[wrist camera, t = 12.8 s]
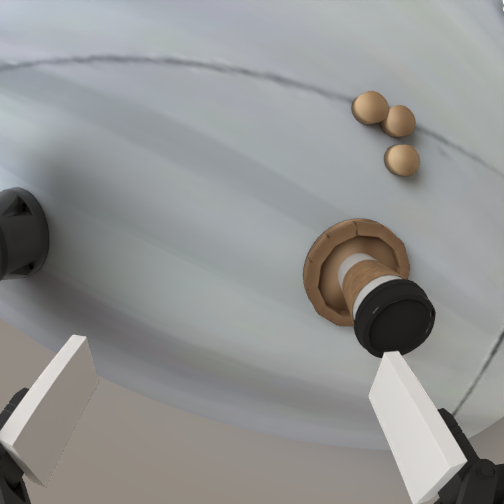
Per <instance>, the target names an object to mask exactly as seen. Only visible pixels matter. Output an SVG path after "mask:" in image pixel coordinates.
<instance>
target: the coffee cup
mask: <svg viewBox="0 0 504 504" xmlns="http://www.w3.org/2000/svg"><path fill="white" fill-rule="evenodd" d="M338 281H339V284H340V287H341V289H342V292H343V295H344V298H345V301H346V304H347V307H348V309H349V312H350V315H351V318H352V321H353V324H354V330H355V335H356V337H357V339H358V341H359V343H360V344H361V345H362V346H363V347H364V348H365V349H367V351H368V352H369V353H370V354H372V355H374V356H376V357H379V358H382V357H383V355H384V352H395V351H399V353H400V354H401V356H402V355H404V354H407V353H409V352H411V351H412V350H414V349H415V348H417V347H418V346H420V345H421V344H422V343H423V342H424V341H425V340H426V339H427V338H428V336H429V334H430V333H431V331H432V328H433V325H434V321H435V314H436V312H435V309H434V307H433V305H432V303H431V302H430V300H429V299H428V297H427V295H426V293H425V292H424V290H423V289H422V288H420V287H419V286H418V285H417V284H416V283H414V282H413V281H410V280H407V279H406V278H404V277H403V276H401V275H400V274H398V273H397V272H395V271H393V270H392V269H390V268H389V267H387V266H385V265H384V264H382V263H380V262H379V261H377V260H376V259H374V258H373V257H371V256H369V255H368V254H364V253H356V254H353V255H351V256H349V257H347V258H346V259H345V260H344V261H343V262H342V264H341V265H340V267H339V270H338Z"/></svg>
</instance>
